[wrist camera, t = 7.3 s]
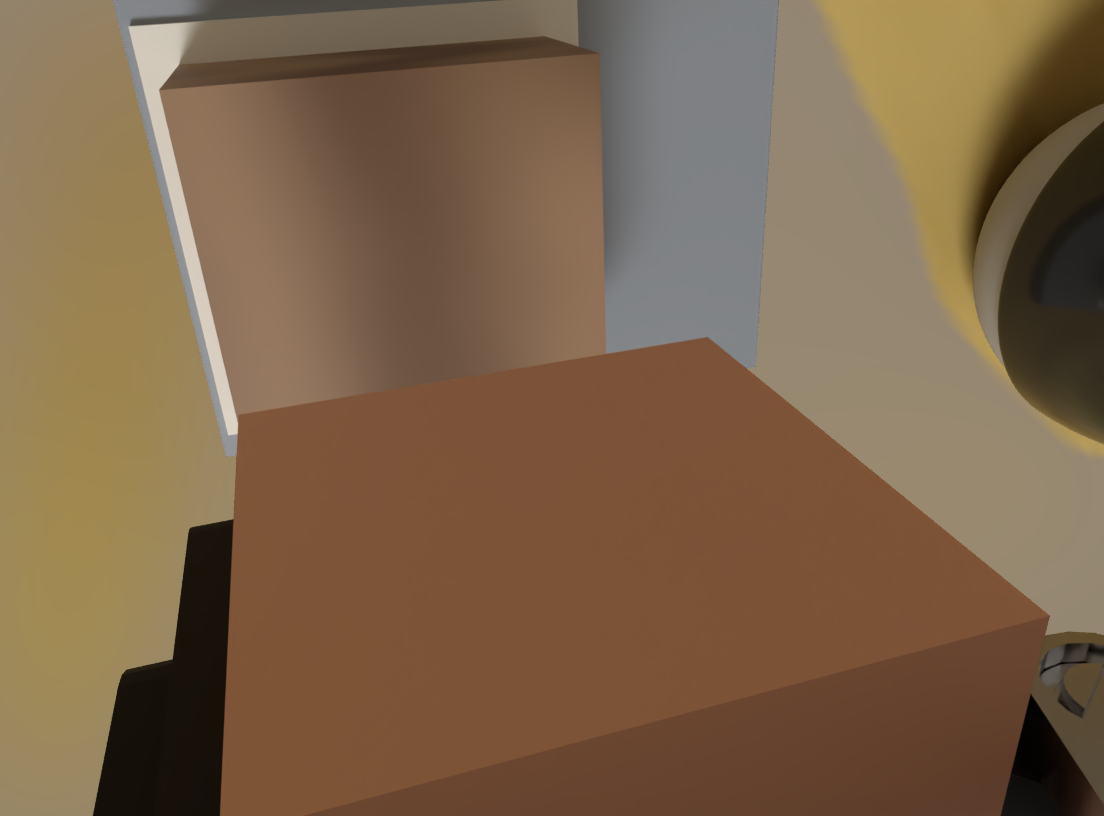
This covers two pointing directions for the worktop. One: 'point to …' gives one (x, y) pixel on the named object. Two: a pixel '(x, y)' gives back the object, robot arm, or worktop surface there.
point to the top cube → (604, 608)
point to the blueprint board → (626, 128)
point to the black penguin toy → (1050, 275)
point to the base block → (394, 213)
